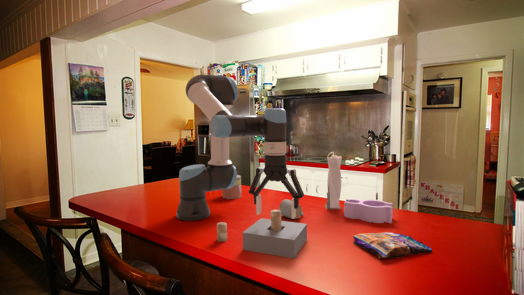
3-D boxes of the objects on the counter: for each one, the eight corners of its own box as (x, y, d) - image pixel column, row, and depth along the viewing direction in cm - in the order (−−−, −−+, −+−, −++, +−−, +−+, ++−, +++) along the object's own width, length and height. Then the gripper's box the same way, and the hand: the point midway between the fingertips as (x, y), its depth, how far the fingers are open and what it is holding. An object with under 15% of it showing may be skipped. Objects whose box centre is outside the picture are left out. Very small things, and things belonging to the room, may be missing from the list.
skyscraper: (323, 205, 154) (324, 151, 152) (339, 205, 154) (340, 151, 152) (326, 209, 146) (327, 153, 144) (343, 209, 146) (344, 153, 143)
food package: (344, 241, 107) (344, 230, 107) (400, 233, 115) (400, 222, 115) (386, 269, 87) (386, 255, 86) (451, 257, 94) (452, 244, 94)
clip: (342, 219, 131) (342, 203, 131) (347, 211, 142) (347, 197, 142) (391, 225, 123) (391, 209, 122) (392, 216, 134) (393, 201, 133)
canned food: (240, 198, 168) (240, 178, 167) (220, 199, 168) (220, 178, 167) (242, 194, 179) (241, 174, 178) (223, 194, 179) (223, 174, 178)
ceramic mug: (291, 221, 128) (291, 204, 128) (278, 217, 134) (278, 200, 134) (307, 216, 135) (308, 200, 134) (294, 212, 141) (295, 196, 141)
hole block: (242, 249, 100) (242, 232, 99) (261, 233, 114) (261, 218, 114) (294, 258, 93) (294, 240, 92) (306, 240, 108) (306, 223, 107)
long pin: (270, 246, 103) (269, 212, 102) (273, 242, 106) (272, 209, 105) (280, 247, 101) (279, 213, 100) (283, 243, 104) (282, 210, 104)
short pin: (215, 240, 108) (214, 224, 107) (220, 237, 111) (220, 221, 110) (223, 242, 106) (223, 226, 106) (228, 238, 110) (228, 223, 109)
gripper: (238, 154, 102) (239, 214, 104) (307, 156, 93) (307, 223, 95) (247, 152, 109) (248, 209, 111) (313, 154, 100) (312, 216, 102)
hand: (275, 215), depth 103 cm, fingers open, 12 cm apart
